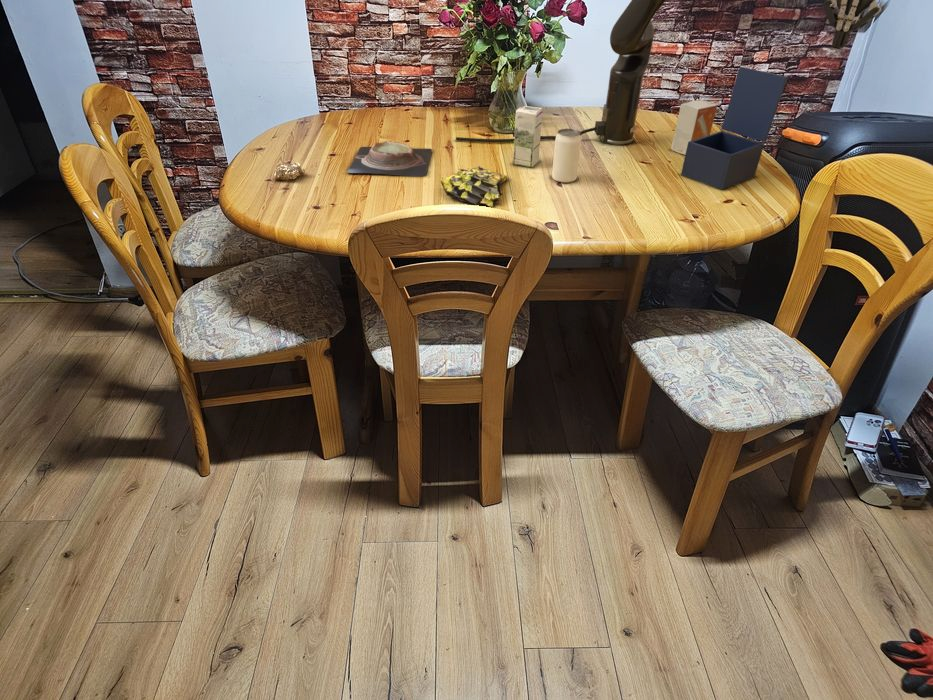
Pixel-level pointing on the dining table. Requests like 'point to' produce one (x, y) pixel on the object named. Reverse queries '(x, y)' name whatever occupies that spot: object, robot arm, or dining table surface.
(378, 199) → the dining table surface
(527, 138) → the syrup box
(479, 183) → the banana patterned fabric
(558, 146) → the can
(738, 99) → the case lid
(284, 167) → the beige lumpy piece
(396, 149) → the quiche
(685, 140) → the small box
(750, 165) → the case
